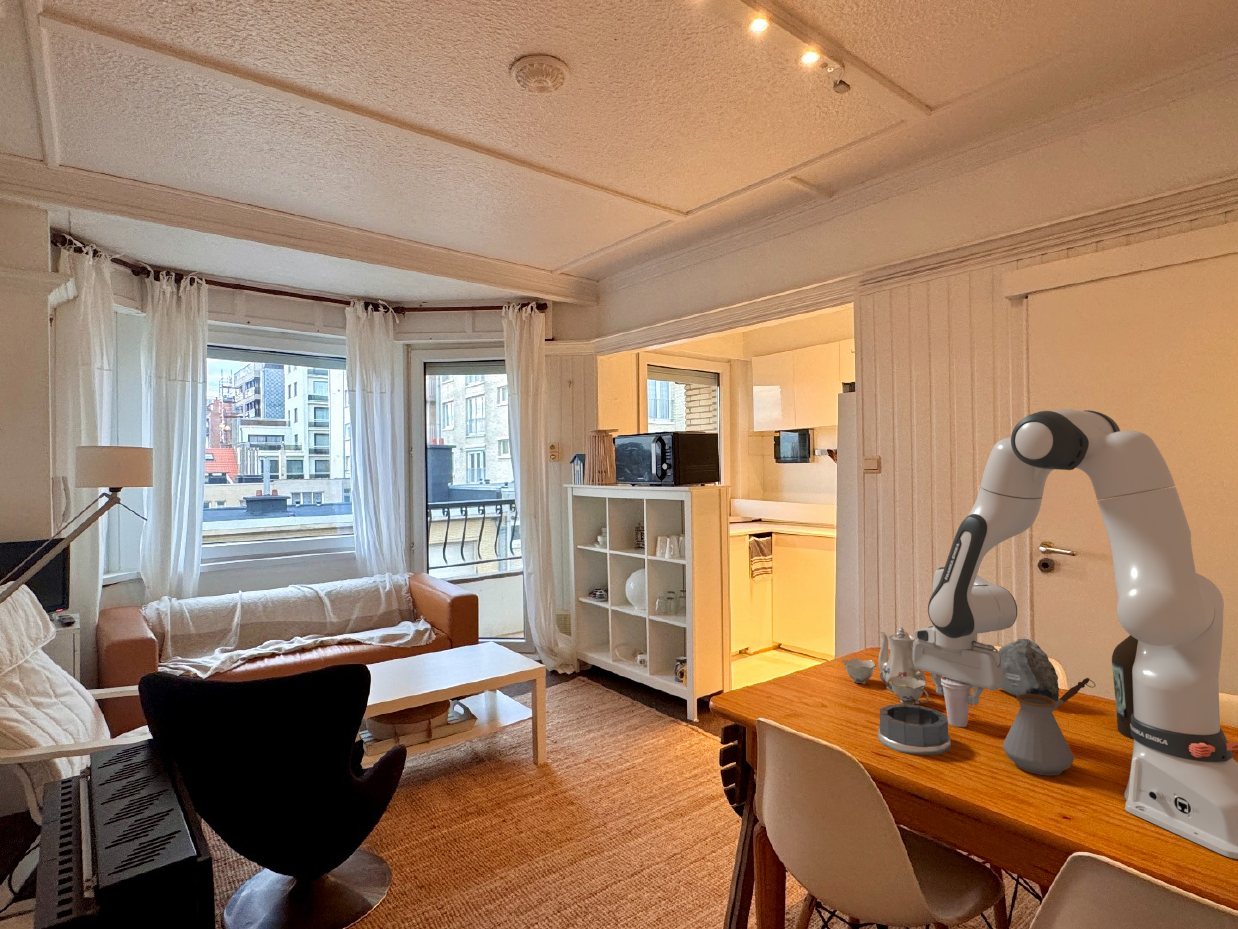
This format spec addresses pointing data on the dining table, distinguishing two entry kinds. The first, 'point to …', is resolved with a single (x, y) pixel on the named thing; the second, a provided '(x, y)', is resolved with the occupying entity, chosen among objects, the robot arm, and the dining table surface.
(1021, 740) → the coffee pot
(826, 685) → the dining table surface
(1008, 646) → the decorative rock
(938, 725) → the ring
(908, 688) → the chinaware
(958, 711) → the smoothie
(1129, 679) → the olive oil
